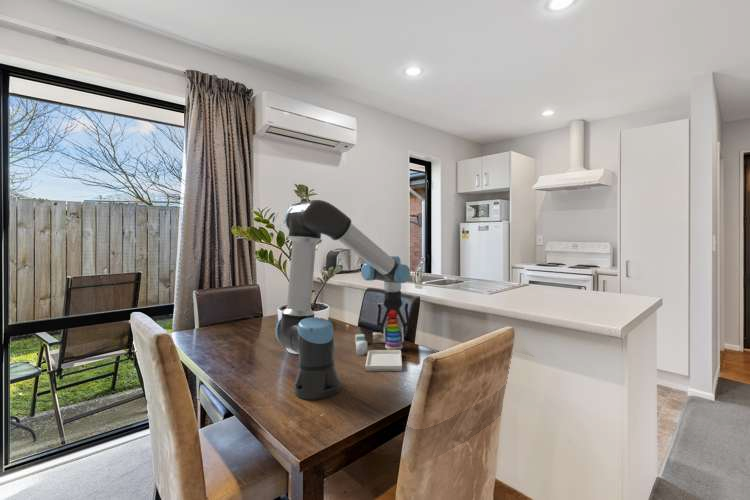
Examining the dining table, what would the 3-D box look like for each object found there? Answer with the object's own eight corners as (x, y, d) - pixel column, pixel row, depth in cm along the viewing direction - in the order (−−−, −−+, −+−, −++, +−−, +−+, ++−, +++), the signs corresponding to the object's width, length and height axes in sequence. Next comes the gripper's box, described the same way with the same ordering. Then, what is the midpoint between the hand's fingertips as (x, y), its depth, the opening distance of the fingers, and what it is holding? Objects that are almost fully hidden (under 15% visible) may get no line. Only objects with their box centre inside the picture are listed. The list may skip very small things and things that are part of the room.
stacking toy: (402, 345, 164) (402, 305, 163) (402, 351, 156) (401, 309, 155) (385, 345, 165) (384, 305, 164) (384, 351, 157) (383, 309, 156)
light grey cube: (355, 355, 153) (355, 344, 152) (356, 351, 158) (356, 340, 157) (367, 355, 152) (366, 343, 152) (367, 351, 157) (367, 340, 157)
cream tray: (365, 371, 135) (365, 365, 135) (368, 354, 153) (368, 350, 153) (402, 371, 134) (402, 365, 134) (400, 354, 152) (400, 350, 152)
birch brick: (372, 343, 170) (372, 334, 170) (373, 340, 174) (372, 332, 174) (385, 342, 170) (385, 334, 169) (385, 340, 174) (385, 332, 173)
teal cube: (356, 345, 167) (356, 336, 167) (355, 342, 171) (355, 334, 170) (365, 344, 168) (364, 336, 167) (363, 342, 171) (363, 333, 171)
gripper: (414, 288, 162) (415, 338, 163) (370, 289, 163) (371, 338, 164) (416, 291, 155) (416, 343, 156) (369, 292, 156) (370, 343, 157)
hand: (393, 340), depth 160 cm, fingers closed on stacking toy, 7 cm apart
